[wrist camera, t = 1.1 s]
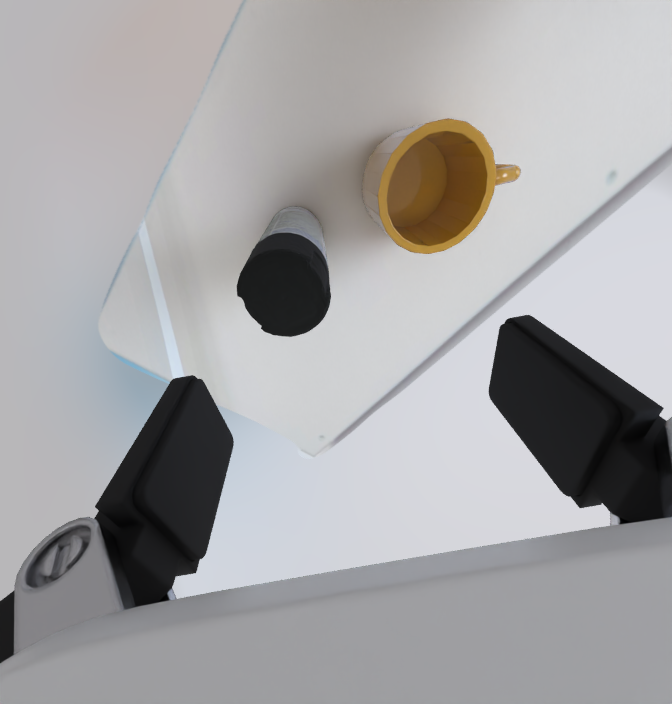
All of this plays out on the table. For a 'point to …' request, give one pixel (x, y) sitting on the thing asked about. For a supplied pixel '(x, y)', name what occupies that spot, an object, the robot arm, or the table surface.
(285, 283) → the spray can
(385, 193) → the mug
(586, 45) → the table surface
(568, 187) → the table surface
